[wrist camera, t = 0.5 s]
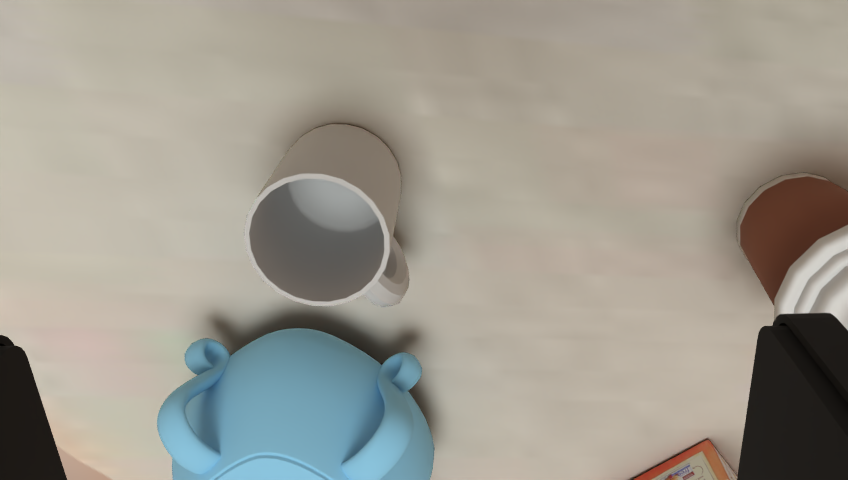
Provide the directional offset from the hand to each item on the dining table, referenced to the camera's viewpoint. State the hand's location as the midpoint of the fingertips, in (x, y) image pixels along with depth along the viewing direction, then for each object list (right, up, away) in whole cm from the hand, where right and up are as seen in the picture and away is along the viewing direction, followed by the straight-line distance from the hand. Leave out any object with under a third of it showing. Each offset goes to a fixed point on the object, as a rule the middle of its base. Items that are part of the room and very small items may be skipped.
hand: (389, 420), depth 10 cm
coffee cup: (+22, +3, +35) cm, 42 cm away
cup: (-4, +5, +36) cm, 36 cm away
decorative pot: (-7, -9, +43) cm, 44 cm away
